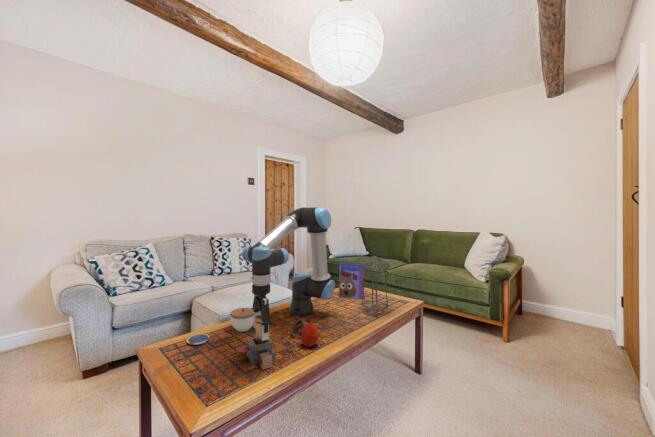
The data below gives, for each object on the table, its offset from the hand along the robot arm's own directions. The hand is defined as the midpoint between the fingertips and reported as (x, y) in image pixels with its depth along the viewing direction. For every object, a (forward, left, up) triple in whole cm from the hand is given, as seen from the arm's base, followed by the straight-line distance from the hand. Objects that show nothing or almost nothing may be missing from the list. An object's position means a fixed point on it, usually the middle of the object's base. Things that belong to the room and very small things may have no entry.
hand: (260, 333), depth 118 cm
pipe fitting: (0, 0, -7) cm, 7 cm away
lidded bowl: (-31, -1, -10) cm, 33 cm away
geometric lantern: (-20, +76, -10) cm, 79 cm away
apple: (0, +23, -10) cm, 25 cm away
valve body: (0, -3, -10) cm, 10 cm away
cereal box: (-49, +79, -10) cm, 94 cm away
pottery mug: (-11, +25, -10) cm, 29 cm away
